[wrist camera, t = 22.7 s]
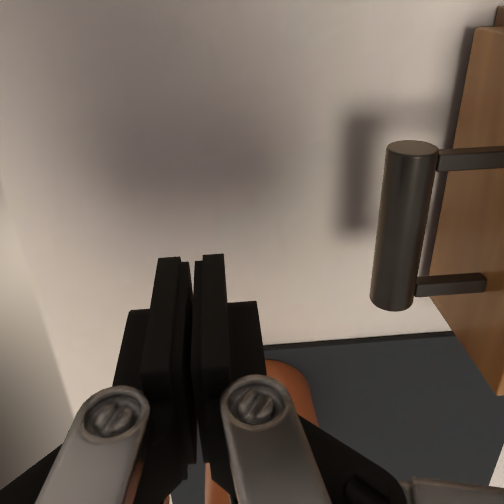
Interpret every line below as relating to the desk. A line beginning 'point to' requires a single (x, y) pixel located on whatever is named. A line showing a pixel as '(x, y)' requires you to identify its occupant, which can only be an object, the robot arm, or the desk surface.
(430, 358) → the desk mat
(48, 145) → the desk surface
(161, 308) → the robot arm
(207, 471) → the pen holder
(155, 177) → the desk surface
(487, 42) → the drawer
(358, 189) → the desk surface
